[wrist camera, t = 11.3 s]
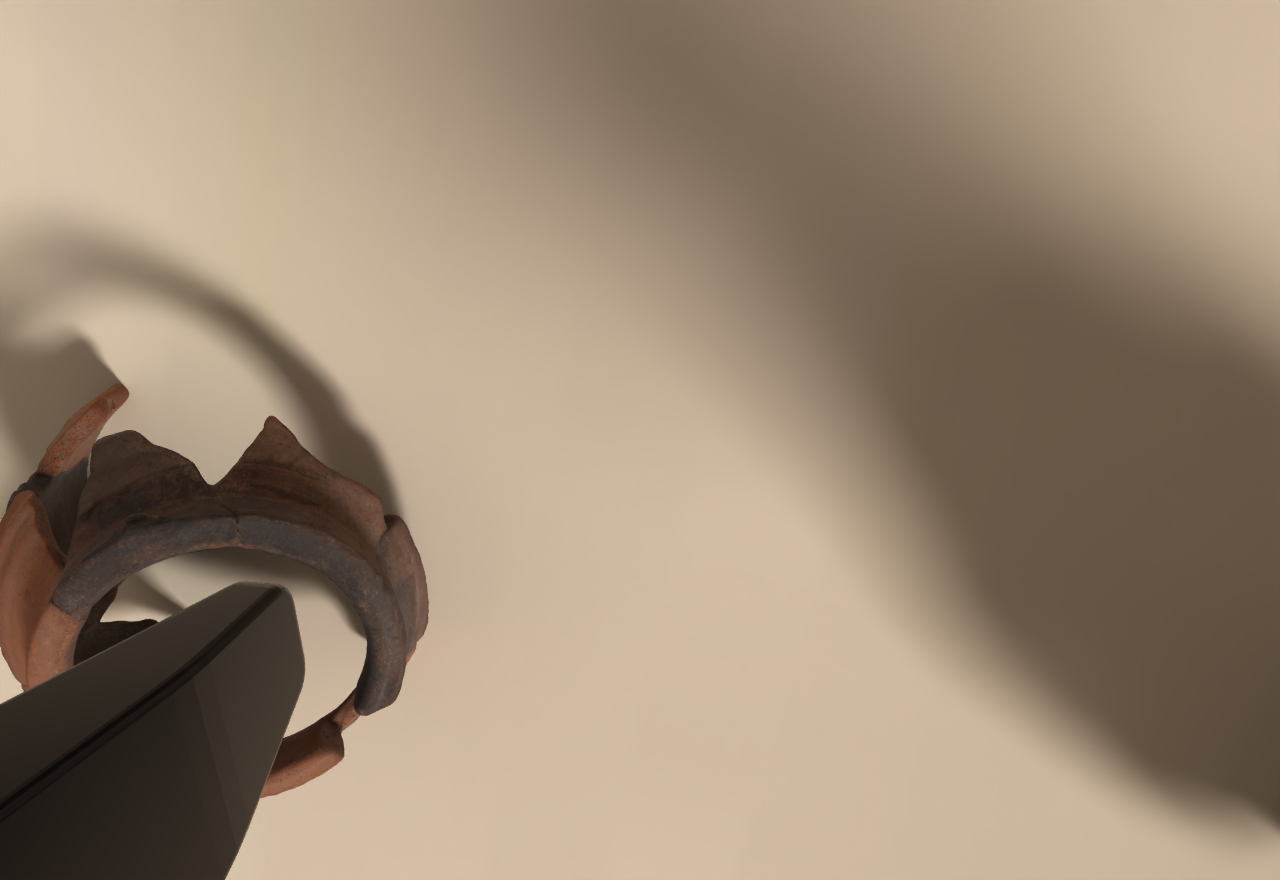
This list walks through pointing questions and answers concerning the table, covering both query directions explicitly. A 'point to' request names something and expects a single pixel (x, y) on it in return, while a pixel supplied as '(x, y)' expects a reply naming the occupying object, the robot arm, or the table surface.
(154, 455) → the brown jagged crown
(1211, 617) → the table surface
